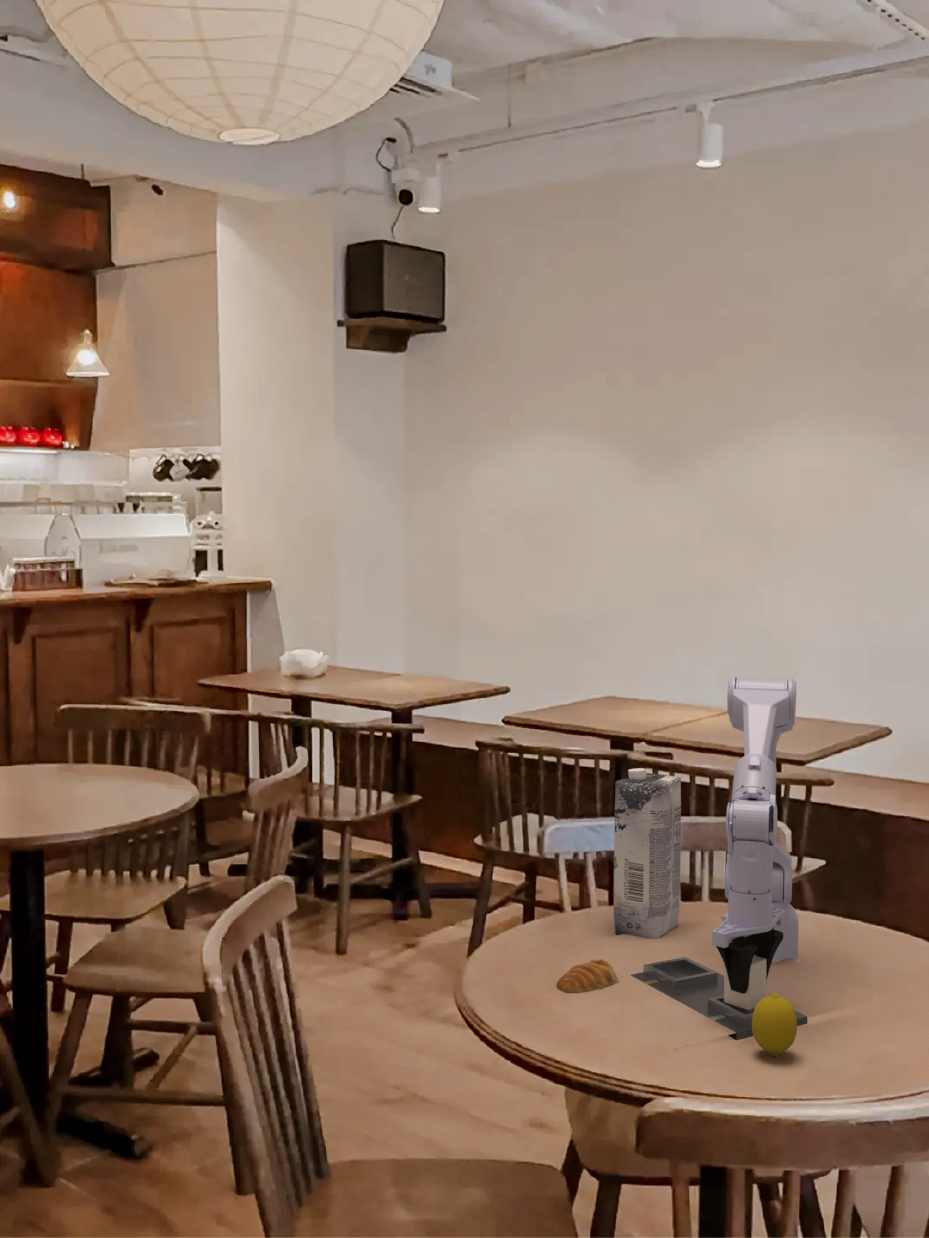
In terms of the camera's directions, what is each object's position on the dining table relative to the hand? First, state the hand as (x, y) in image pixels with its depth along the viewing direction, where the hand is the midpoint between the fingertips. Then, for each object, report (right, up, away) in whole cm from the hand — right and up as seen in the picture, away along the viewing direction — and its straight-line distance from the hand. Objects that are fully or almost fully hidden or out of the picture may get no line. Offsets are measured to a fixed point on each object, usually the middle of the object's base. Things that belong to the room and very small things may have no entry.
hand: (748, 986), depth 175 cm
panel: (-3, -4, +6) cm, 8 cm away
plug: (0, -2, 0) cm, 2 cm away
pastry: (-21, -4, +11) cm, 24 cm away
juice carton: (-9, -2, +36) cm, 37 cm away
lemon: (+1, -6, -12) cm, 13 cm away
